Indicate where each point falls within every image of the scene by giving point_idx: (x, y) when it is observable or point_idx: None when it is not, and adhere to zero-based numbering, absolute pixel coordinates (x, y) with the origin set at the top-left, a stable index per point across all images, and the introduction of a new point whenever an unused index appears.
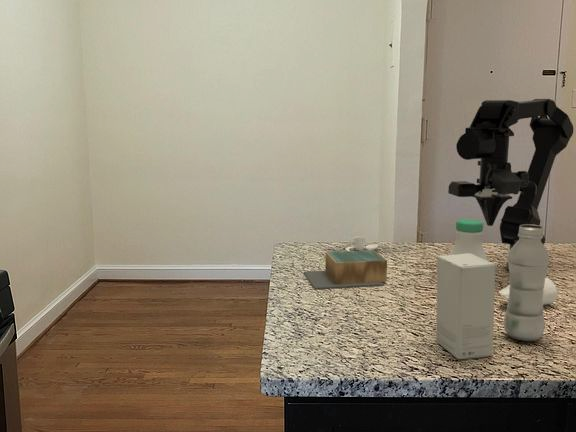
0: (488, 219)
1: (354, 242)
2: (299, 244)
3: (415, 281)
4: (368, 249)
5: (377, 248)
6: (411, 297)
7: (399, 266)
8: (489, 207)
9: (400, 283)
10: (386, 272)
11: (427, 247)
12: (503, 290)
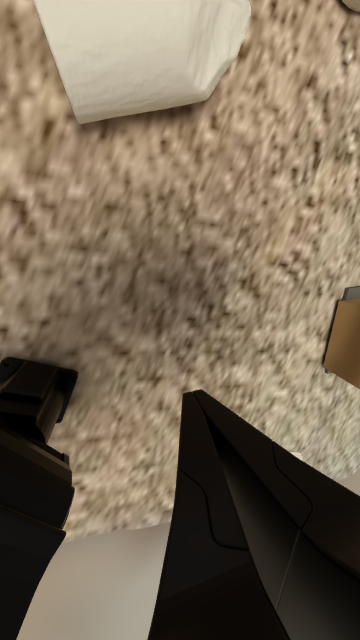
0: (227, 409)
1: None
2: (339, 474)
3: (288, 309)
4: None
5: None
6: (342, 211)
7: (271, 393)
8: (304, 485)
9: (316, 299)
10: (357, 305)
11: None
12: (239, 15)
